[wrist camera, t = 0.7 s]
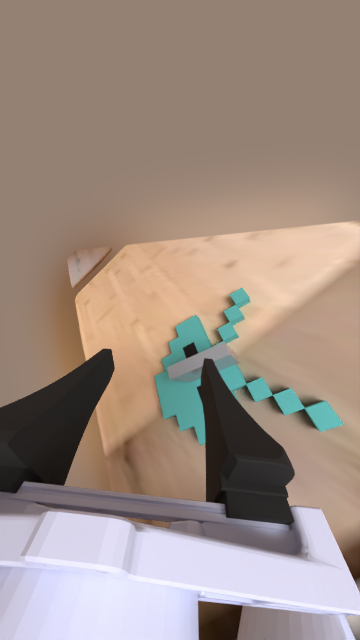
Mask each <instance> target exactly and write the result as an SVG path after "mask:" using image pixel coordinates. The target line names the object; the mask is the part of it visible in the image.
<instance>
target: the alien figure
mask: <svg viewBox="0 0 360 640" xmlns="http://www.w3.org/2000/svg"><path fill="white" fill-rule="evenodd" d="M230 297H231V299H232V300H233V302H234V303H235V305H234V306H232V307H231V308H229V309H227V310H225V311H224V313H225V315H226V316H227V318H228V320H229V321H230V322H229V323H227V324H226V325H224V326H222V327H220V328H218V331H219V333H220V335H221V337H222V339H223V341H222V342H220V343H218V344H221V343H223V342H225V343H228V342H230V341H232V340H234V339H236V338H238V337H239V336H238V335H237V333H236V331H235V330H234V328H233V325H235V324H236V323H238V322H240V321H242V320H244V319H245V318H244V316H243V314H242V313H241V311H240V310H239V308H240V307H242V306H244V305H246V304H247V303H249V302H250V299H249V296H248V295H247V294H246V292H245V291H244V290H243V288H240V289H239V290H237V291H235V292H233V293H232V294H230ZM175 328H176V331H177V333H178V336H179V337H178V338H176V339H174V340H172V341H171V342H169V346H170V349H171V352H172V354H170V355H168V356H167V357H165V358H163V359H162V363H163V366H164V370H165V371H164V372H162V373H160V374H158V375H156V376H154V377H155V382H156V386H157V391H158V395H159V400H160V404H161V409H162V413H163V418H164V419H168V418H171V417H173V416H177V420H178V424H179V428H180V431H183V430H186V429H188V428H191V427H194V428H195V431H196V434H197V438H198V441H199V444H200V445H203V444H205V421H204V412H203V404H202V396H201V378H200V379H198V380H195V381H193V382H190V383H189V382H182V381H174V380H170V379H169V375H168V370H167V367H169V366H171V365H173V364H176V363H178V362H180V361H182V360H185V359H187V358H189V357H191V356H194V355H196V354H198V353H200V352H203V351H205V350H207V349H209V348H212V347H214V346H216V345H218V344H216V345H214V346H212V345H211V343H210V340H209V338H208V336H207V334H206V332H205V330H204V328H203V325H202V323H201V321H200V319H199V318H198V317H197V316H196V315H194V316H193V317H191V318H189V319H188V320H186V321H184V322H183V323H181V324H179V325H177V326H176V327H175ZM219 373H220V375H221V377H222V378H223V380H224V382H225V383H226V385H227V386H228V388H229V389H230V391H231V392H232V394H233V395H234V397H235V398H236V396H235V394H234V392H233V391H235V390H237V389H239V388H242V387H244V386H247V387H248V389H249V391H250V393H251V395H252V397H253V399H254V400H255V402H258V401H260V400H263V399H265V398H268V397H270V396H274V398H275V400H276V401H277V403H278V405H279V406H280V408H281V410H282V412H283V413H284V415H288V414H290V413H293V412H296V411H299V410H302V409H304V410H305V411H306V413H307V414H308V416H309V417H310V419H311V420H312V422H313V423H314V425H315V427H316V428H317V430H319V431H320V432H321V431H325V430H328V429H331V428H334V427H338V426H341V425H344V424H343V422H342V421H341V420H340V418H339V417H338V416H337V414H336V413H335V412H334V410H333V409H332V408H331V406H330V405H329V404H328V402H327V401H321V402H318V403H315V404H312V405H310V406H307V407H304V406H303V405H302V403H301V402H300V400H299V399H298V397H297V396H296V394H295V393H294V391H293V390H292V388H290V389H287V390H285V391H282V392H280V393H277V394H275V395H273V394H272V393H271V391H270V389H269V387H268V386H267V384H266V382H265V381H264V379H263V377H262V378H259V379H257V380H255V381H252V382H250V383H248V384H247V382H246V381H245V379H244V377H243V375H242V373H241V371H240V369H239V367H238V365H237V364H236V365H233V366H231V367H228V368H226V369H223V370H221V371H219ZM236 399H237V398H236ZM237 401H238V400H237Z"/></svg>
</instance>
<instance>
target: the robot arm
mask: <svg viewBox="0 0 360 640" xmlns="http://www.w3.org/2000/svg"><path fill="white" fill-rule="evenodd" d="M114 369H115V367H114V361H113V356H112V350H111V349H102V350H101V351H100V352H98V353H97V354H96V355H94V356H93V357H92V358H90V359H89V360H87V361H86V362H85V363H83V364H82V365H81V366H79V367H78V368H76V369H75V370H73V371H72V372H70V373H68V374H67V375H66V376H64V377H62V378H61V379H59V380H57V381H56V382H54V383H52V384H50V385H48V386H47V387H44V388H43V389H41V390H39V391H37V392H35V393H33V394H31V395H28V396H26V397H24V398H22V399H20V400H18V401H15V402H13V403H10V404H8V405H6V406H3V407H1V408H0V640H199V631H198V601H206V602H215V603H225V604H234V605H243V607H242V613H241V619H240V625H239V631H238V637H237V640H355V637H354V635H353V633H352V631H351V628H350V626H349V624H348V622H347V619H346V617H345V616H360V593H359V590H358V588H357V586H356V584H355V582H354V580H353V577H352V575H351V573H350V571H349V569H348V566H347V564H346V562H345V560H344V558H343V556H342V553H341V551H340V549H339V547H338V545H337V543H336V540H335V538H334V536H333V534H332V532H331V529H330V527H329V525H328V523H327V521H326V519H325V516H324V514H323V512H322V510H321V509H320V508H315V507H306V506H290V507H289V504H288V501H287V498H288V493H287V490H286V487H285V486H286V485H287V484H288V483H289V482H290V481H291V480H292V479H293V477H294V475H295V472H294V469H293V467H292V464H291V462H290V460H289V458H288V456H287V454H286V452H285V450H284V448H283V447H282V446H281V445H280V444H278V443H277V442H276V441H275V440H274V439H273V438H272V437H271V436H270V435H268V434H267V433H266V432H265V431H264V430H263V429H262V428H261V427H260V426H259V425H258V424H257V423H256V422H255V421H254V419H253V418H252V417H251V416H250V415H249V414H248V413H247V412H246V411H245V409H244V408H243V407H242V406H241V404H240V403H239V402H238V401H237V399H236V398H235V397H234V395H233V394H232V392H231V391H230V389H229V388H228V386H227V385H226V383H225V382H224V380H223V378H222V377H221V375H220V373H219V371H218V369H217V367H216V365H215V363H214V361H213V359H208V358H204V362H203V367H202V372H201V396H202V404H203V412H204V421H205V444H206V502H202V501H193V500H184V499H176V498H167V497H158V496H149V495H140V494H131V493H122V492H114V491H105V490H96V489H87V488H78V487H69V486H64V484H65V481H66V478H67V475H68V473H69V470H70V467H71V464H72V461H73V459H74V456H75V453H76V451H77V448H78V446H79V443H80V441H81V438H82V436H83V433H84V431H85V429H86V426H87V424H88V421H89V419H90V417H91V415H92V413H93V411H94V409H95V407H96V405H97V403H98V402H99V400H100V398H101V396H102V394H103V393H104V391H105V389H106V387H107V385H108V383H109V382H110V379H111V377H112V374H113V372H114ZM120 516H121V517H120ZM123 517H130V518H139V519H147V520H156V521H164V522H171V523H170V524H169V529H168V528H163V527H158V526H154V525H149V524H144V523H139V522H134V521H130V520H129V519H126V518H123Z"/></svg>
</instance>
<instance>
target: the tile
mask: <svg viewBox="0 0 360 640" xmlns="http://www.w3.org/2000/svg"><path fill="white" fill-rule="evenodd" d="M204 358H208V359H213V361H214V363H215V365H216V367H217V369H218V371H221V370H223V369H226V368H228V367H231V366H233V365H236V364H238V363H239V360H238V358H237V356H236V354H235V352H234V351H233V350H232V349H231V348H230V347H229V346H228V345H227V344H226V343H225V342H223V343H221V344H218V345H216V346H214V347H212V348H209V349H207V350H205V351H203V352H200V353H198V354H196V355H194V356H191V357H189V358H187V359H185V360H182V361H180V362H178V363H176V364H173V365H171V366H169V367H167V370H168V375H169V379H170V380H174V381H182V382H189V383H190V382H193V381H195V380H198V379H200V378H201V372H202V367H203V362H204Z"/></svg>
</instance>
